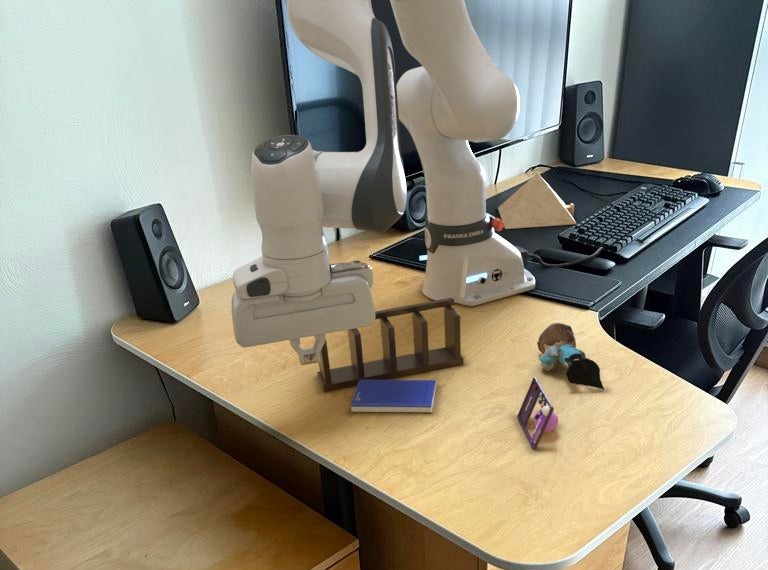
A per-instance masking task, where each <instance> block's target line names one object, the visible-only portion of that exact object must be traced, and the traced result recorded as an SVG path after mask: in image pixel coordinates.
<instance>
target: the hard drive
mask: <svg viewBox="0 0 768 570" xmlns="http://www.w3.org/2000/svg"><path fill="white" fill-rule="evenodd" d="M436 391H437V380H436V379H388V380H359V382H358V385H357V386H356V388H355V391H354V393H353V397H352V400H351V403H350V411H351V412H352V413H432V412H433V409H434V402H435V396H436Z"/></svg>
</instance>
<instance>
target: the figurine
mask: <svg viewBox="0 0 768 570" xmlns="http://www.w3.org/2000/svg"><path fill="white" fill-rule="evenodd" d="M576 341H577V340H576V337H575V332H574V331H573V328H572V326H571V325H568V324H565V323H562V322H554V323H551V324H550V325H548V326H547V327H546V328H545V329H544V330H542V332H541V333H540V334H539V337H538V341H537V342H536V344H537V349H538V350H539V352H540V353H541V354H542V355H541V356H540V357H539V362H540V367H541V368H542V369H543V370H544V371H546V372H550V371H553V370H554V369H556V368H557V366H563V367H564V368H566V372H565V376H566V378H567V383H569V384H573V385H576V386H577V385H578V386H587V387H592V388H596V389H601V390H603V391H605V388H604V385H603V383H602V380H601V367H600V366H599V364H597V362H595V361H594V360H592V359H590V358H588V357H586V353H585V352H584V351H582V350H581V349H579V348H577V343H576Z"/></svg>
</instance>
